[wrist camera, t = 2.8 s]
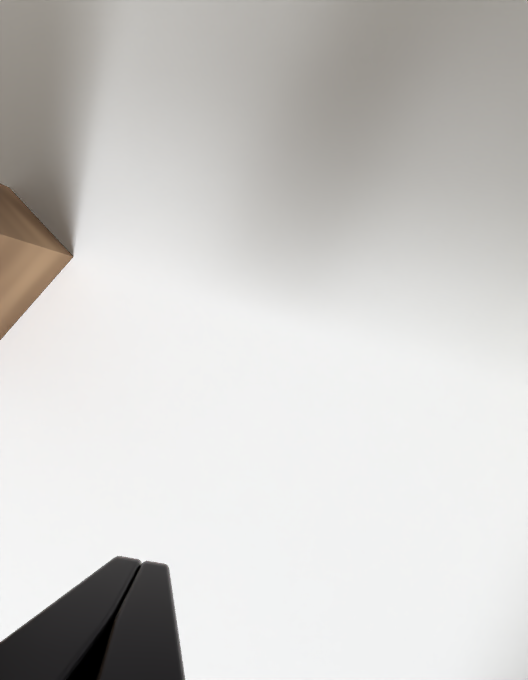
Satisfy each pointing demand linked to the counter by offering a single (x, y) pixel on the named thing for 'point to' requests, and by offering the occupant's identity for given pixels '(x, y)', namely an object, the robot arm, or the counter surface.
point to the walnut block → (24, 258)
